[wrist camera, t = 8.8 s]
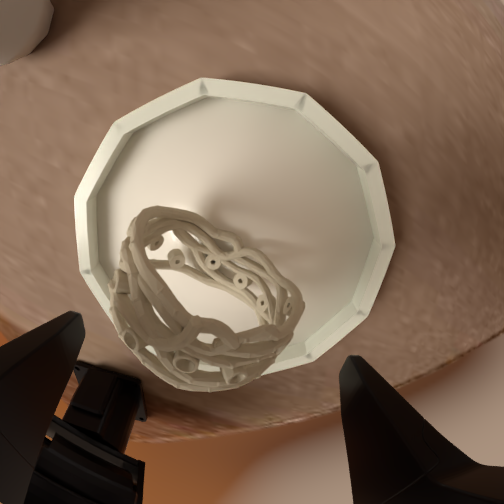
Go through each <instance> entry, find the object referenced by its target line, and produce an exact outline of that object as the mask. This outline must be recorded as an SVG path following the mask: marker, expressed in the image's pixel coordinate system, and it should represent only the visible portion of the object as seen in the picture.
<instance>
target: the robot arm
mask: <svg viewBox="0 0 504 504" xmlns="http://www.w3.org/2000/svg"><path fill="white" fill-rule="evenodd" d="M84 338H85V328H84V323H83V319H82V315H81V314H80V313H78V312H75V311H68V312H66V313H64V314H62V315H60V316H58V317H56V318H54V319H52V320H51V321H49V322H47V323H45V324H43V325H41V326H39V327H37V328H35V329H33V330H31V331H29V332H27V333H25V334H23V335H21V336H20V337H18V338H16V339H14V340H12V341H10V342H8V343H6V344H4V345H2V346H1V347H0V502H1V503H2V504H142V500H143V484H144V470H145V462H143V461H141V460H136V459H134V458H131V457H129V456H127V455H125V454H124V453H125V450H126V447H127V443H128V440H129V437H130V434H131V431H132V428H133V424H134V421H135V420H138V421H142V422H145V421H146V420H147V413H146V407H145V402H144V396H143V390H142V384H141V381H140V380H138V379H136V378H133V377H129V376H125V375H121V374H118V373H114V372H110V371H107V370H103V369H100V368H97V367H93V366H90V365H87V364H84V363H80V362H77V358H78V355H79V352H80V349H81V346H82V344H83V341H84ZM73 370H74V373H75V375H76V378H77V381H78V384H79V386H78V388H77V389H76V391H75V393H74V395H73V397H72V399H71V402H70V404H69V406H68V409H67V411H66V413H65V415H64V417H63V419H60V418H58V417H57V416H55V415H54V413H55V411H56V408H57V406H58V404H59V401H60V399H61V397H62V394H63V392H64V390H65V388H66V385H67V383H68V381H69V379H70V377H71V374H72V372H73ZM339 384H340V402H341V417H342V424H343V429H344V437H345V443H346V450H347V457H348V463H349V471H350V479H351V487H352V495H353V504H504V467H499V466H487V465H482V464H479V463H477V462H475V461H473V460H472V459H471V458H469V457H468V456H467V455H466V454H464V453H463V452H462V451H461V450H459V449H458V448H457V447H456V446H454V445H453V444H452V443H451V442H450V441H448V440H447V439H446V438H445V437H444V436H442V435H441V434H440V433H439V432H438V431H437V430H436V429H435V428H434V427H433V426H432V425H431V424H430V423H429V422H428V421H426V420H425V419H424V418H423V417H422V416H421V415H420V414H419V413H418V412H417V411H416V410H415V409H414V408H413V407H412V406H411V405H410V404H409V403H408V402H407V401H406V400H405V399H404V398H403V397H402V396H401V395H400V394H399V393H398V392H397V391H396V390H395V389H394V388H393V387H392V386H391V385H390V384H389V383H388V382H387V381H386V380H385V379H384V378H383V377H382V376H381V375H380V374H379V373H378V372H377V371H376V370H375V369H374V368H373V367H372V366H371V365H370V364H369V363H368V362H367V361H366V360H364V359H363V358H362V357H361V356H359V355H349V356H348V357H347V359H346V361H345V363H344V365H343V367H342V369H341V371H340V374H339ZM46 435H48V436H49V437H51V438H52V441H51V440H49V439H48V438H46V437H45V436H46Z"/></svg>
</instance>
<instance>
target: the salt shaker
mask: <svg viewBox="0 0 504 504" xmlns="http://www.w3.org/2000/svg"><path fill="white" fill-rule="evenodd" d="M53 12H54V8H53V6H52V4H51V2H50V0H0V66H2V65H5V64H8V63H11V62H13V61H15V60H18V59H20V58H22V57H24V56H26V55H29V54H30V53H31V52H32V51H33V50H34V48H35V47H36V46H37V45H38V44H39V43H40V42H41V41H42V40H43V39H44V38H45V37H46V36H47V35H48V32H49V28H50V24H51V20H52V16H53Z"/></svg>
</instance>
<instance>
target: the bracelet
mask: <svg viewBox="0 0 504 504" xmlns="http://www.w3.org/2000/svg"><path fill="white" fill-rule="evenodd" d="M153 218H154V219H153ZM149 220H150V221H149ZM171 230H172V231H173V233H174V235H175V236H176V237H177V238H178V239H179V240H180V241H181V243H183V244H184V245H186V246H187V247H189V248H191V250H192V252H193V254H194V256H195V259H196V261H197V263H198V264H199V266H200V267H201V268H202V269H203V270H204V271H205V272H206V273H207V274H208V275H210V276H211V277H209V276H207V275H206V274H204V273H202V272H200V271H198V270H197V269H195V268H193V267H191V266H189V265H186V264H185V256H184V254H183V252H182V251H181V250H180V249H172V250H171V251H169V253H168V255H167V258H168V260H156V259H148V257H147V255H146V251H145V247H147V248H148V249H149V250H150V251H155V250H157V249H159V248H160V247H161V246H162V245H163V242H164V238H163V236H162V234H164V233H166V232H167V231H171ZM188 232H189V233H191V234H193V235H194V236H196V237H197V238H198V239H200V240H201V241H202V242H203V243H204V245H205V246H204V245H201V244H199V243H198V242H197V240H196V239H195V238H193V237H192V236H191V235H190V234H189V233H188ZM126 235H127V237H126V239H125V240H124V241H122V244H121V249H120V253H119V254H120V261H119V267H120V268H119V269H116V270H115V272H114V274H113V278H112V279H110V281H109V283H108V287H109V292H110V294H111V296H110V309H109V313H110V314H111V316H112V320H113V323H114V326H115V329H116V331H117V333H118V335H119V338H120V339H121V340H122V341H123V342H124V343H125V344H126V346H127V347H128V348H129V349H130V350H131V351H132V353H133V354H134V355H135V356H136V357H137V358H138V359H139V360H140V361H141V363H142V365H144V366H146V367H147V368H148V369H149V370H150V371H152V372H153V373H154V374H155V375H156V376H158V377H159V378H161V379H162V380H164V381H165V382H167V383H169V384H171V385H173V386H174V387H176V388H178V389H183V390H188V391H204V392H210V393H211V392H214V391H223V390H229V389H235V388H239V387H240V386H243V385H245V384H247V383H249V382H251V381H252V380H254V379H258V378H260V377H261V374H262V373H263V372H265V371H266V370H267V369H268V368H269V367H270V366H271V365H272V364H274V363H275V359H276V358H277V356H278V355H279V354H280V353H281V352H282V351H283V350H284V349H285V348H286V346H287V345H288V344H289V343H290V342H291V340H292V339H293V335H294V333H293V331H294V330H295V327H296V326H297V324H298V322H299V320H300V318H301V315H303V312H304V310H305V302H304V301H303V298H302V294H301V292H300V290H299V288H298V287H297V286H296V285H295V284H294V283H293V282H292V281H290V280H289V279H287V278H285V277H284V276H282V275H281V273H280V272H279V271H278V270H277V268H276V267H275V266H274V264H273V263H272V261H271V260H270V259H269V258H268V257H267V256H266V255H265V254H264V253H263V252H262V251H260V250H258V249H257V248H253V247H244V245H243V242H242V239H241V238H240V237H239V236H238V235H236V234H235V233H233V232H230V231H226V230H221V229H217V228H215V227H214V226H213V225H212V224H211V223H209V222H208V221H207V220H206V219H205V218H204V217H202V216H200V215H199V214H197V213H194V212H191V211H188V210H184V209H179V208H172V207H164V206H158V205H156V206H151V207H148V208H145V209H142V210H141V212H140V213H139V214H138V215H137V217H134V218H133V220H132V221H131V223H130V225H129V227H128V229H127V233H126ZM210 236H211V237H212V238H216V239H219V240H223V241H227V242H230V243H232V245H233V246H234V251H224V250H221V248H220V247H219V246H218V245H217V244H216V243H215V242H214V240H213V239H212V238H211V237H210ZM203 253H205V254H207V256H206V258H205V256H204V254H203ZM245 256H251V257H253V258H255V259H257V260H258V261H259V262H260V263H261V264H262V265H263V266H262V265H260V264H259V263H257V262H255V261H253V260H251V259H249V258H247V257H245ZM212 260H214V261H215V262H212ZM230 260H234V261H236V262H238V263H240V264H242V265H244V266H246V267H248V268H249V269H251V270H252V271H254V272H256V273H257V274H256V273H254V272H252V271H250V270H247V269H245V268H242V267H240V266H238V265H236V264H235V263H233V262H232V261H230ZM221 264H223V265H224V266H226V267H227V268H229V269H230V270H232V271H234V272H235V273H237V274H235V276H234V278H233V280H232V279H230V278H228V277H226V276H225V275H224V274H222V273H220V272H219V271H218V270H216V269H218V268H219V267H220V265H221ZM156 269H161V270H174V271H178V272H181V273H184V274H186V275H188V276H190V277H192V278H194V279H196V280H197V281H199V282H201V283H203V284H205V285H208V286H211V287H214V288H217V289H220V290H223V291H226V292H227V293H229V294H231V295H232V296H234V297H236V298H237V299H239V300H241V301H242V302H244V303H245V304H247V305H248V306H249V307H250V308H252V309H253V310H254V311H255V314H256V316H257V319H258V322H259V326H258V327H255V328H252V329H249V330H246V331H242V332H239V333H235V332H234V331H233V330H232V329H231V328H230V327H229V326H228V325H226V324H225V323H223V322H222V321H219V320H217V319H214V318H204V317H200V316H198V315H196V316H193V315H192V314H190V313H189V312H188V311H187V310H186V309H185V308H184V307H183V305H182V304H181V303H180V302H179V301H178V300H177V298H176V297H175V295H174V294H173V292H172V291H171V290H170V288H169V287H168V285H167V284H166V282H165V281H164V280H163V279H162V277H161V276H160V275H159V273H158V272H157V271H156ZM258 274H259V275H261V276H262V277H264V278H266V279H267V280H269V281H270V282H271V283H272V284H273V285H274V286H275V288H276V292H277V297H276V298H275V297H274V296H273V295H272V293H271V291H270V289H269V287H268V286H267V284H266V283H265V281H264V280H263V279H262V278H261V277H260V276H259V275H258ZM241 279H242V280H243V282H242V280H241ZM253 281H254V282H255V283H256V284H257V285H258V287H259V288H260V289H261V291H262V293H263V294H262V295H259V297H257V296H256V295H255V294H254V293H253V292H252V291H250V290H249V289H248V288H247V287H248V286H250V285H251V284H252V282H253ZM287 291H288V292H289V293H290V294H291V296H290V297H289V296H288V292H287ZM127 294H131V300H130V298H129V297H128V295H127ZM152 305H153V307H154V308H155V309H156V311H157V312H158V313H159V315H160V316H161V318H162V319H163V320H164V322H165V323H166V324H167V325H168V327H167V326H166V325H165V324H164V323H163V322H162V321H161V320H160V319H159V317H158V316H157V315H156V313H155V312H154V309H153V307H152ZM286 315H287V316H289V318H288V319H287V320H286ZM126 322H127V323H128V325H129V326H130V327H129V326H128V325H127V323H126ZM199 333H205V334H212V335H214V336H215V337H217V338H215V339H214V340H213V342H212V344H209V343H204V342H202V341H199V340H198V339H197V336H198V335H199ZM257 341H258V342H257ZM249 342H254V343H249ZM148 345H150V346H152V347H153V348H154V350H155V352H156V354H157V358H158V359H159V360H158V359H157V358H156V357H155V356H154V355H153V354H152V353H151V352H150V351H148V350H147V349H146V348H145V347H146V346H148ZM174 351H175V352H174ZM200 360H201V361H203V362H205V363H207V364H209V365H211V366H217V367H220V371H215V372H208V371H203V370H199V369H198V366H199V362H200Z"/></svg>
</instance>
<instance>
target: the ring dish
mask: <svg viewBox="0 0 504 504" xmlns="http://www.w3.org/2000/svg"><path fill="white" fill-rule="evenodd" d="M156 205H158V206H164V207H172V208H179V209H184V210H188V211H191V212H194V213H197V214H199V215H200V216H202V217H204V218H205V219H206V220H207V221H208V222H209V223H211V224H212V225H213V226H214V227H215V228H217V229H221V230H226V231H230V232H233V233H235V234H236V235H238V236H239V237H240V238H241V239H242V242H243V245H244V247H253V248H257V249H258V250H260V251H262V252H263V253H264V254H265V255H266V256H267V257H268V258H269V259H270V260H271V261H272V263H273V264H274V266H275V267H276V268H277V270H278V271H279V272H280V273H281V275H282V276H284V277H285V278H287V279H289V280H290V281H292V282H293V283H294V284H295V285H296V286H297V287H298V288H299V290H300V292H301V294H302V298H303V301H304V302H305V310H304V312H303V315H301V318H300V320H299V322H298V324H297V326H296V327H295V330H294V331H293V333H294V335H293V339H292V340H291V342H290V343H289V344H288V345H287V346H286V348H285V349H284V350H283V351H282V352H281V353H280V354H279V355H278V356H277V358H276V359H275V363H274V364H272V365H271V366H270V367H269V368H268V369H267V370H266V371H265V372H263V373H262V374H261V375H265V374H269V373H273V372H277V371H281V370H285V369H288V368H292V367H296V366H299V365H303V364H307V363H310V362H313V361H315V360H316V359H317V358H318V357H320V356H321V355H322V354H324V353H325V352H326V351H327V350H329V349H330V348H331V347H332V346H334V345H335V344H336V343H337V342H338V341H340V340H341V339H342V338H343V337H344V336H346V335H347V334H348V333H349V332H350V331H352V330H353V329H354V328H355V327H356V326H357V325H359V324H360V323H361V322H362V321H363V320H364V319H365V318H367V317H368V315H369V313H370V310H371V308H372V306H373V303H374V301H375V298H376V296H377V294H378V291H379V289H380V286H381V284H382V281H383V278H384V276H385V273H386V271H387V268H388V265H389V263H390V260H391V257H392V254H393V251H394V249H395V246H396V245H395V240H394V234H393V228H392V222H391V217H390V212H389V207H388V202H387V197H386V192H385V188H384V184H383V179H382V175H381V171H380V167H379V163H378V161H377V160H376V159H375V158H374V157H373V156H372V155H371V154H370V153H369V151H368V150H367V149H366V148H365V147H364V146H363V145H362V144H361V143H360V142H359V141H358V140H357V139H356V138H355V137H354V136H353V135H352V134H351V133H350V132H349V131H348V130H346V129H345V128H344V127H343V126H342V125H341V124H340V123H339V122H338V121H337V120H336V119H335V118H334V117H333V116H332V115H330V114H329V113H328V112H327V111H326V110H325V109H324V108H323V107H322V106H320V105H319V104H318V103H317V102H316V101H315V100H314V99H312V98H311V97H310V96H309V95H308V94H307V93H303V92H298V91H293V90H288V89H283V88H278V87H272V86H266V85H260V84H253V83H246V82H239V81H231V80H222V79H211V78H200V79H197V80H195V81H193V82H190V83H188V84H186V85H184V86H182V87H179V88H177V89H175V90H173V91H171V92H169V93H167V94H165V95H163V96H161V97H159V98H157V99H155V100H153V101H151V102H149V103H147V104H145V105H143V106H141V107H140V108H138V109H136V110H134V111H132V112H131V113H129V114H127V115H125V116H123V117H122V118H120V119H118V120H117V121H115V122H114V123H113V125H112V126H111V128H110V130H109V131H108V133H107V135H106V136H105V138H104V140H103V142H102V143H101V145H100V147H99V149H98V151H97V152H96V154H95V156H94V158H93V160H92V162H91V164H90V165H89V167H88V169H87V171H86V173H85V175H84V177H83V179H82V181H81V183H80V185H79V188H78V190H77V192H76V194H75V196H74V207H75V225H76V239H77V250H78V259H79V267H80V273H81V275H82V276H83V278H84V280H85V281H86V283H87V284H88V286H89V288H90V289H91V291H92V292H93V294H94V296H95V297H96V299H97V300H98V302H99V303H100V305H101V306H102V308H103V309H104V311H105V312H106V314H107V315H108V317H109V318H110V320H111V321H112V323H113V320H112V316H111V314H110V313H109V309H110V296H111V294H110V292H109V287H108V283H109V281H110V279H112V278H113V274H114V272H115V270H116V269H119V268H120V267H119V261H120V254H119V253H120V249H121V244H122V241H124V240H125V239H126V237H127V235H126V233H127V229H128V227H129V225H130V223H131V221H132V220H133V218H134V217H137V215H138V214H139V213H140V212H141V210H142V209H145V208H148V207H151V206H156ZM153 219H154V218H153ZM149 221H150V220H149ZM188 233H189V232H188ZM189 234H190V235H191V236H192V237H193V238H195V239H196V240H197V242H198V243H199V244H201V245H204V243H203V242H202V241H201V240H200V239H198V238H197V237H196V236H194V235H193V234H191V233H189ZM162 236H163V238H164V242H163V245H162V246H161V247H160V248H159V249H157V250H155V251H150V250H149V249H148V248H147V247H145V251H146V255H147V257H148V259H156V260H168V258H167V255H168V253H169V251H171V250H172V249H180V250H181V251H182V252H183V254H184V256H185V264H186V265H189V266H191V267H193V268H195V269H197V270H198V271H200V272H202V273H204V274H206V275H207V276H209V277H211V276H210V275H208V274H207V273H206V272H205V271H204V270H203V269H202V268H201V267H200V266H199V264H198V263H197V261H196V259H195V256H194V254H193V252H192V250H191V248H189V247H187V246H186V245H184V244H183V243H181V241H180V240H179V239H178V238H177V237H176V236H175V235H174V233H173V231H172V230H171V231H167V232H166V233H164V234H162ZM210 237H211V236H210ZM211 238H212V237H211ZM212 239H213V240H214V242H215V243H216V244H217V245H218V246H219V247H220V248H221V250H224V251H234V246H233V245H232V243H230V242H227V241H223V240H219V239H216V238H212ZM204 246H205V245H204ZM203 254H204V256H205V258H206V256H207V254H205V253H203ZM245 257H247V258H249V259H251V260H253V261H255V262H257V263H259V264H260V265H262V264H261V263H260V262H259V261H258V260H257V259H255V258H253V257H251V256H245ZM230 261H232V262H233V263H235V264H236V265H238V266H240V267H242V268H245V269H247V270H250V271H252V270H251V269H249V268H248V267H246V266H244V265H242V264H240V263H238V262H236V261H234V260H230ZM212 262H215V261H214V260H212ZM262 266H263V265H262ZM216 270H218V271H219V272H220V273H222V274H224V275H225V276H226V277H228V278H230V279H232V280H233V278H234V276H235V274H237V273H235V272H234V271H232V270H230V269H229V268H227V267H226V266H224V265H223V264H221V265H220V267H219V268H218V269H216ZM156 271H157V272H158V273H159V275H160V276H161V277H162V279H163V280H164V281H165V282H166V284H167V285H168V287H169V288H170V290H171V291H172V292H173V294H174V295H175V297H176V298H177V300H178V301H179V302H180V303H181V304H182V305H183V307H184V308H185V309H186V310H187V311H188V312H189V313H190V314H192V315H193V316H196V315H198V316H200V317H204V318H214V319H217V320H219V321H222V322H223V323H225V324H226V325H228V326H229V327H230V328H231V329H232V330H233V331H234V332H235V333H239V332H242V331H246V330H249V329H252V328H255V327H258V326H259V322H258V319H257V316H256V314H255V311H254V310H253V309H252V308H250V307H249V306H248V305H247V304H245V303H244V302H242V301H241V300H239V299H237V298H236V297H234V296H232V295H231V294H229V293H227V292H226V291H223V290H220V289H217V288H214V287H211V286H208V285H205V284H203V283H201V282H199V281H197V280H196V279H194V278H192V277H190V276H188V275H186V274H184V273H181V272H178V271H174V270H161V269H156ZM252 272H254V271H252ZM254 273H256V272H254ZM256 274H257V273H256ZM258 275H259V274H258ZM259 276H260V277H261V278H262V279H263V280H264V281H265V283H266V284H267V286H268V287H269V289H270V291H271V293H272V295H273V296H274V297H275V298H276V297H277V292H276V288H275V286H274V285H273V284H272V283H271V282H270V281H269V280H267V279H266V278H264V277H262V276H261V275H259ZM241 280H242V279H241ZM242 282H243V280H242ZM247 288H248V289H249V290H250V291H252V292H253V293H254V294H255V295H256V296H257V297H259V295H262V294H263V293H262V291H261V289H260V288H259V287H258V285H257V284H256V283H255V282H254V281H253V282H252V284H251V285H250V286H248V287H247ZM287 292H288V291H287ZM127 295H128V297H129V298H130V300H131V294H127ZM288 296H289V297H290V296H291V294H290V293H289V292H288ZM152 307H153V305H152ZM153 309H154V312H155V313H156V315H157V316H158V317H159V319H160V320H161V321H162V322H163V323H164V324H165V325H166V326H167V327H168V325H167V324H166V323H165V322H164V320H163V319H162V318H161V316H160V315H159V313H158V312H157V311H156V309H155V308H154V307H153ZM288 318H289V316H287V315H286V320H287V319H288ZM126 323H127V322H126ZM113 324H114V323H113ZM127 325H128V323H127ZM128 326H129V325H128ZM129 327H130V326H129ZM215 338H217V337H215V336H214V335H212V334H205V333H199V335H198V336H197V339H198V340H199V341H202V342H204V343H209V344H212V342H213V340H214V339H215ZM257 342H258V341H257ZM249 343H254V342H249ZM145 348H146V349H147V350H148V351H150V352H151V353H153V354H154V355H156V356H157V354H156V352H155V350H154V348H153V347H152V346H150V345H148V346H146V347H145ZM174 352H175V351H174ZM198 369H199V370H203V371H208V372H215V371H220V367H217V366H211V365H209V364H207V363H205V362H203V361H201V360H200V362H199V366H198Z"/></svg>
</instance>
